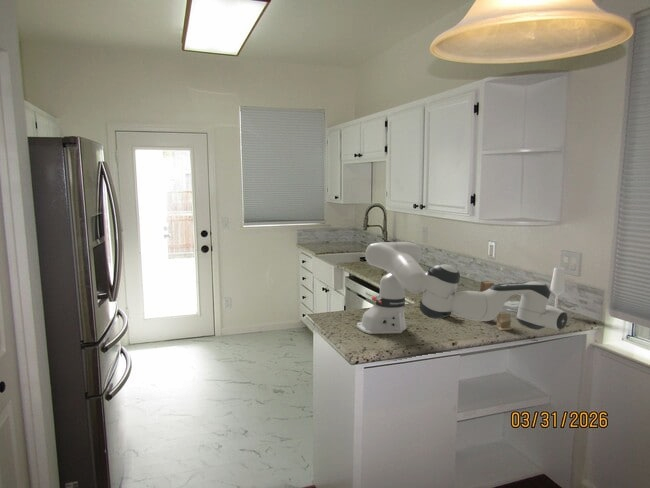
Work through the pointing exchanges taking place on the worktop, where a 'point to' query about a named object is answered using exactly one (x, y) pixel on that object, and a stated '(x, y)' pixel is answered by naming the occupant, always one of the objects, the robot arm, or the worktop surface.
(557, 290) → the champagne flute
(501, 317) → the stand
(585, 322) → the worktop surface
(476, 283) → the worktop surface
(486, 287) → the slider
